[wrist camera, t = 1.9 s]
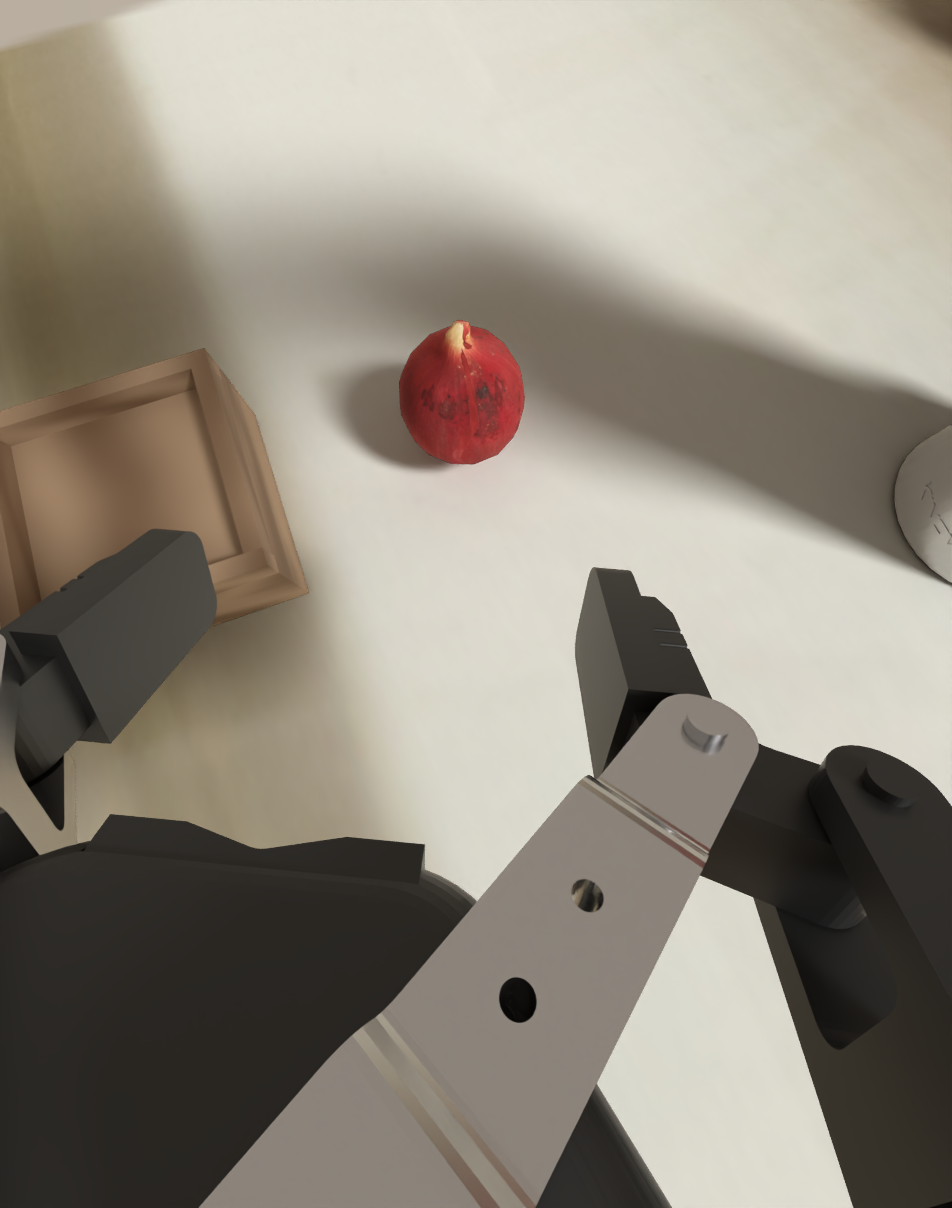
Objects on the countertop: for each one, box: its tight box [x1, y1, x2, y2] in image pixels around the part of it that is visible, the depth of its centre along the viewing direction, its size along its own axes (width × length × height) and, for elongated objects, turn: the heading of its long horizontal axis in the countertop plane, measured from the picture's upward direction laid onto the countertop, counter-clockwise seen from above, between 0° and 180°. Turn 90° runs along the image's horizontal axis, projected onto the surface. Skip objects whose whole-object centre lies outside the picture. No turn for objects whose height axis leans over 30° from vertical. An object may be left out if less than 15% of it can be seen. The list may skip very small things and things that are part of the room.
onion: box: [399, 320, 525, 464], centre depth 23 cm, size 6×6×8 cm
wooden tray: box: [0, 348, 309, 629], centre depth 24 cm, size 11×11×5 cm
